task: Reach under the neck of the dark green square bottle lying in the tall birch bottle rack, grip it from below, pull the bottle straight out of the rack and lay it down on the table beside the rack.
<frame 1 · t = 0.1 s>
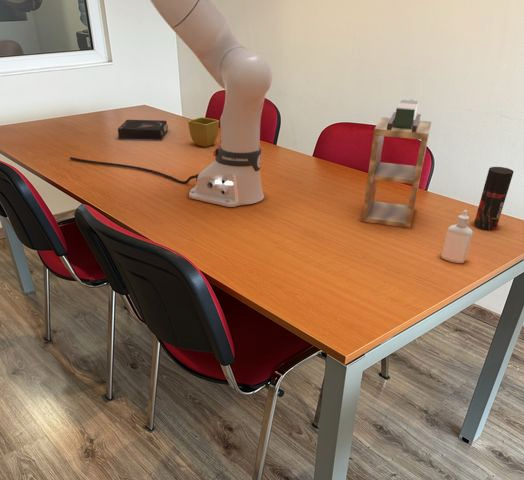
flower pot: (204, 145, 201), on the table
bottle: (406, 114, 131), point 26 cm above the table, touching bottle rack
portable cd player: (144, 135, 212), on the table
eye dropper bottle: (452, 260, 123), on the table
deodorant: (484, 226, 141), on the table
bottle rack: (388, 215, 145), on the table
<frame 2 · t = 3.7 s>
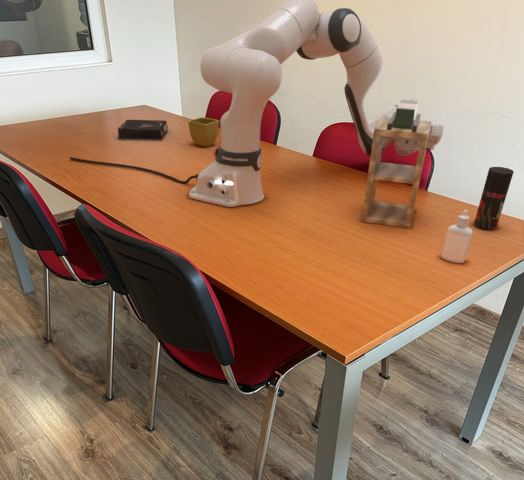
hand: (409, 122, 152), 20 cm above the table, tool pointing upward, fingers open, 8 cm apart
nothing on the table moved.
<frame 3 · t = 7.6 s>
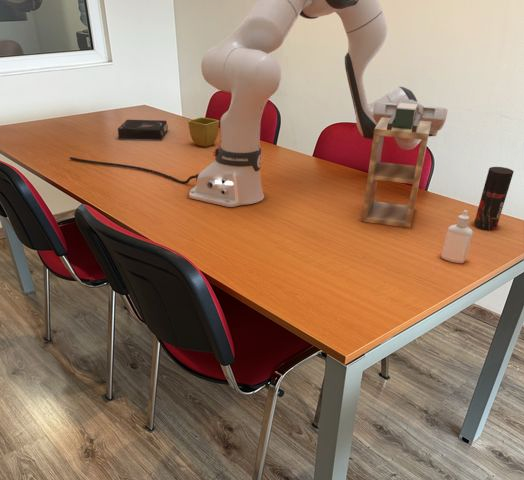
hand: (410, 104, 139), 27 cm above the table, tool pointing upward, fingers closed on bottle, 2 cm apart
bottle: (406, 114, 131), point 26 cm above the table, touching bottle rack, gripper
everything else where it was.
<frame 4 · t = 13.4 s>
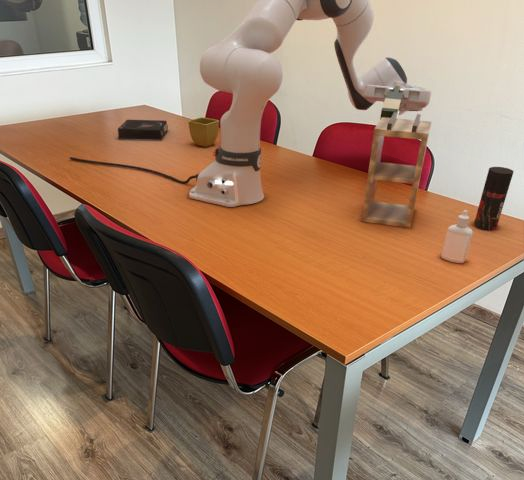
hand: (396, 91, 152), 27 cm above the table, tool pointing upward, fingers closed on bottle, 2 cm apart
bottle: (391, 109, 146), point 24 cm above the table, tilted 14°, touching gripper
everything else where it was.
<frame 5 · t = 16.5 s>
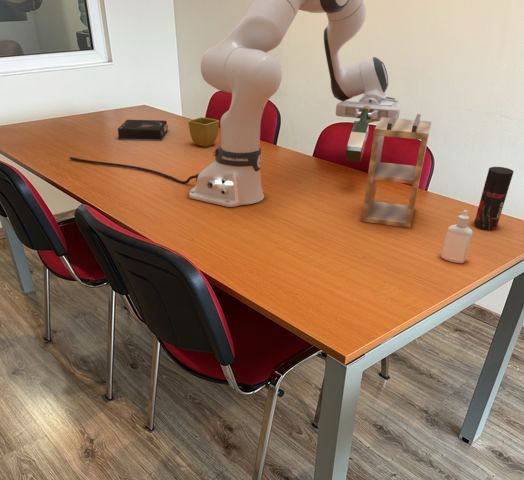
hand: (364, 116, 159), 20 cm above the table, tool horizontal, fingers closed on bottle, 2 cm apart
bottle: (357, 141, 156), point 14 cm above the table, tilted 30°, touching gripper
everything else where it was.
when the fingers open (10 cm above the table, at t = 19.1 s): bottle drops 3 cm, point 2 cm above the table.
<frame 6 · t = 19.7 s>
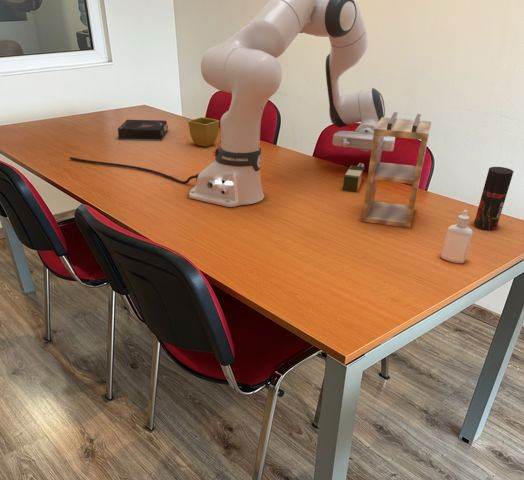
hand: (360, 146, 165), 10 cm above the table, tool horizontal, fingers open, 8 cm apart
bottle: (353, 178, 165), point 2 cm above the table
everything else where it was.
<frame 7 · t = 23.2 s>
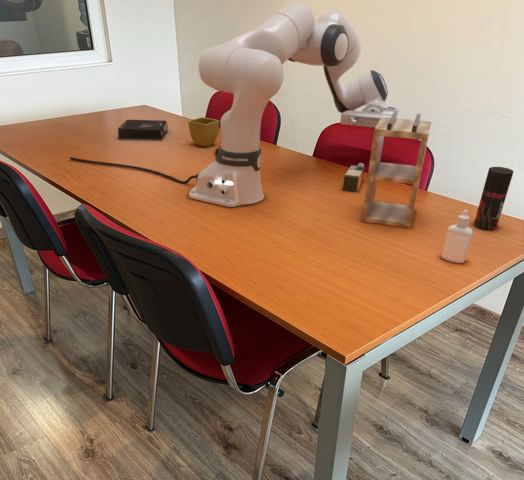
hand: (367, 124, 171), 15 cm above the table, tool horizontal, fingers open, 8 cm apart
nothing on the table moved.
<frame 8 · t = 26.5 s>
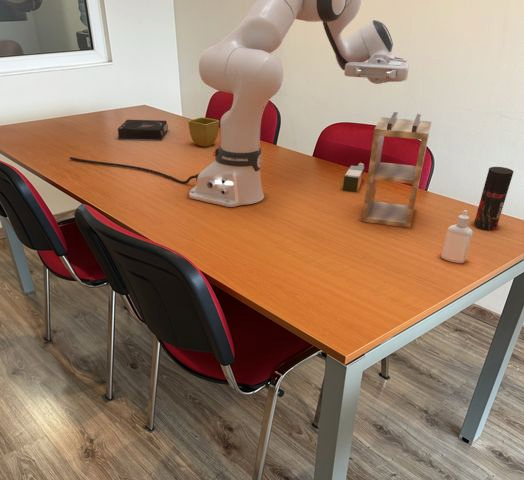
hand: (373, 74, 160), 30 cm above the table, tool horizontal, fingers open, 8 cm apart
nothing on the table moved.
at the end: bottle inside the target area (4.3 cm from its centre), point 2.2 cm above the table; bottle touching table; the gripper is holding nothing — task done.
